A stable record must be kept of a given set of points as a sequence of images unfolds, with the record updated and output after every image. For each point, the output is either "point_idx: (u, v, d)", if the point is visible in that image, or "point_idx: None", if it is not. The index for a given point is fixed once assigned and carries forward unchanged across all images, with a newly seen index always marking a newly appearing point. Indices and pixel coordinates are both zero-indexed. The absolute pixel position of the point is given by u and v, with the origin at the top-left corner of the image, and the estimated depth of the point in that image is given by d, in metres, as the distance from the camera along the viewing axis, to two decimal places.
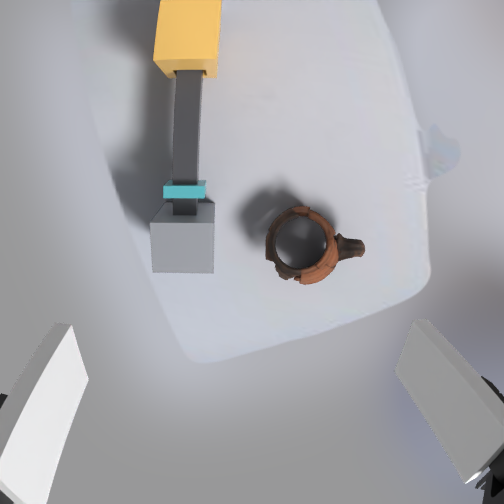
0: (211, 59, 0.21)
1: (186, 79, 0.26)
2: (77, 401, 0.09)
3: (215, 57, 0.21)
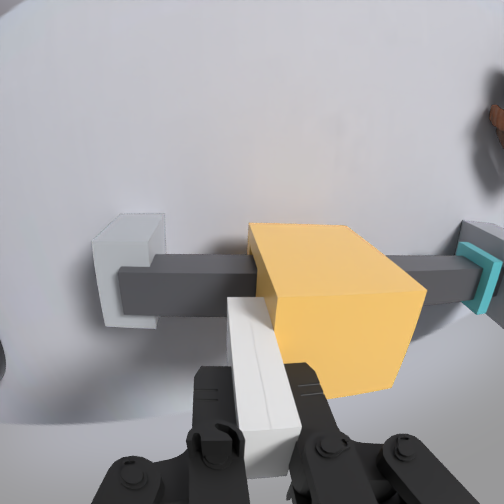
0: None
1: None
2: None
3: (424, 292, 0.11)
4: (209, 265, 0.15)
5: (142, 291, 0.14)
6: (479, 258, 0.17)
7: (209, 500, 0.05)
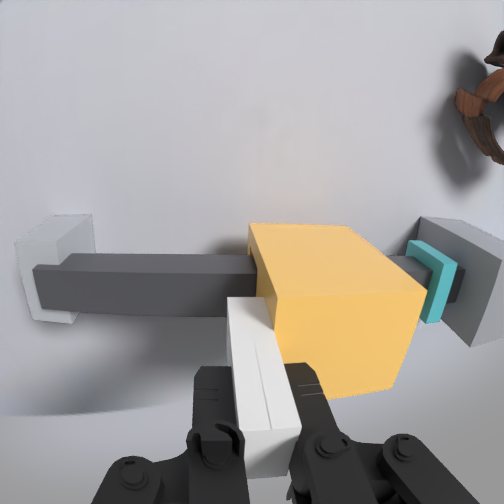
0: None
1: None
2: None
3: (424, 292, 0.11)
4: (109, 264, 0.15)
5: (53, 287, 0.14)
6: (429, 259, 0.17)
7: (209, 500, 0.05)
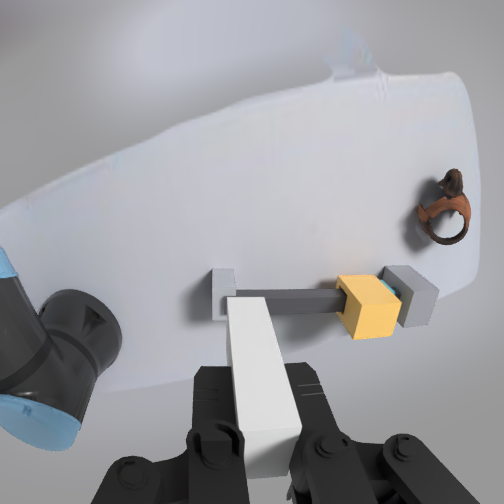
0: None
1: (314, 306, 0.40)
2: None
3: (400, 303, 0.36)
4: (258, 295, 0.40)
5: None
6: None
7: (209, 500, 0.05)
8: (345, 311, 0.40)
